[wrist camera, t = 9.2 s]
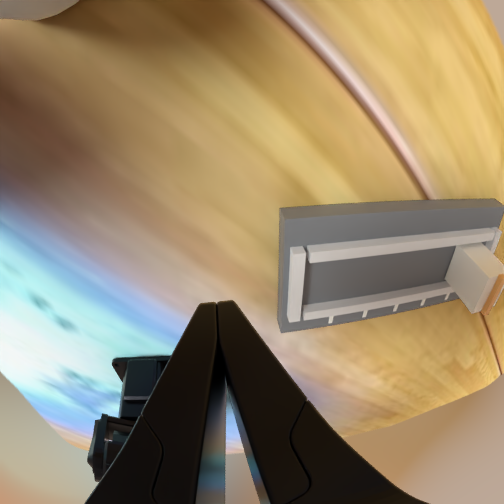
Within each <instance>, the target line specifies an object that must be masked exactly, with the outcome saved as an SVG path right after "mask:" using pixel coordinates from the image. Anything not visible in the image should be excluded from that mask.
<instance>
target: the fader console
mask: <svg viewBox="0 0 504 504" xmlns="http://www.w3.org/2000/svg"><path fill="white" fill-rule="evenodd" d="M503 213H504V205H502V204H501V203H500V202H498V201H497V200H496V199H446V200H412V201H387V202H366V203H348V204H331V205H316V206H302V207H288V208H280V221H279V277H278V314H277V320H278V324H279V328H280V332H281V333H285V332H292V331H299V330H306V329H313V328H319V327H325V326H331V325H337V324H343V323H349V322H354V321H360V320H365V319H370V318H375V317H381V316H386V315H390V314H395V313H400V312H405V311H409V310H414V309H418V308H422V307H427V306H431V305H435V304H439V303H443V302H447V301H451V300H455V299H459V296H458V295H457V294H456V293H455V291H454V290H453V289H452V288H451V286H450V285H449V284H448V283H447V281H446V280H445V276H446V273H447V271H448V268H449V265H450V262H451V260H452V257H453V254H454V251H455V248H456V245H463V244H471V243H478V242H481V243H482V244H483V245H484V246H485V247H487V248H488V249H489V250H490V251H491V252H492V253H493V254H494V252H495V250H496V247H497V244H498V242H499V239H500V236H501V233H502V231H501V230H499V229H498V228H499V225H500V222H501V219H502V216H503Z"/></svg>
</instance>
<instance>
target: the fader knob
mask: <svg viewBox="0 0 504 504" xmlns="http://www.w3.org/2000/svg"><path fill="white" fill-rule="evenodd" d="M445 280H446V281H447V283H448V284H449V285H450V286H451V288H452V289H453V290H454V291H455V293H456V294H457V295H458V296H459V298H460V299H461V300H462V302H463V303H464V304H465V306H466V307H467V308H468V310H469V311H470V312H471V314H473V313H476V312H479V311H481V313H482V314H483V316H485V315H488V314H489V312H490V310H491V308H492V307H494V306H495V304H496V302H497V300H498V298H499V296H500V294H501V292H502V290H503V288H504V265H503V264H502V262H501V261H500V260H499V259H498V258H497V257H496V256H495V255H494V254H493V253H492V252H491V251H490V250H489V249H488V248H487V247H485V246H484V245H483V244H482V243H481V242H478V243H471V244H463V245H456V248H455V251H454V254H453V257H452V260H451V262H450V265H449V268H448V271H447V273H446V276H445Z"/></svg>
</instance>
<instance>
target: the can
mask: <svg viewBox="0 0 504 504" xmlns="http://www.w3.org/2000/svg"><path fill="white" fill-rule="evenodd" d="M78 1H79V0H0V19H15V20H41V19H44V18H48V17H51V16H54V15H57V14H59V13H60V12H62V11H64V10H66V9H67V8H69V7H71V6H73V5H74V4H76V3H77V2H78Z"/></svg>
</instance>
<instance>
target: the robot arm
mask: <svg viewBox="0 0 504 504" xmlns="http://www.w3.org/2000/svg"><path fill="white" fill-rule="evenodd" d="M112 366H113V368H114V369H115V371H116V373H117V374H118V376H119V378H120V379H121V381H122V382H123V385H122V392H121V400H120V408H119V417H118V418H117V417H112V416H108V415H107V414H103V413H102V416H101V419H100V420H95V426H94V433H93V438H92V442H91V446H90V450H89V453H88V459H87V462H88V464H89V465H90V466H91V467H92V468H93V473H94V477H95V481H96V482H99V483H98V485H97V486H96V488H95V489H94V490H93V492H92V493H91V495H90V496H89V498H88V499H87V501H86V502H85V504H225V448H226V383H227V388H228V392H229V396H230V400H231V404H232V408H233V412H234V415H235V419H236V423H237V426H238V430H239V434H240V437H241V441H242V444H243V448H244V451H245V455H246V458H247V461H248V464H249V468H250V471H251V475H252V478H253V481H254V485H255V488H256V491H257V494H258V497H259V501H260V504H429V503H426V502H424V501H421V500H419V499H416V498H414V497H412V496H410V495H409V494H407V493H406V492H404V491H402V490H401V489H399V488H398V487H397V486H395V485H394V484H393V483H391V482H390V481H389V480H388V479H387V478H386V477H384V476H383V475H382V474H381V473H380V472H379V471H377V470H376V469H375V468H374V467H373V466H372V465H371V464H369V463H368V462H367V461H366V460H365V459H364V458H363V457H362V456H360V455H359V454H358V453H357V452H356V451H355V450H354V449H353V448H352V447H351V446H350V445H348V444H347V442H345V441H344V440H343V439H342V438H341V437H340V436H339V435H338V434H337V433H336V432H335V431H334V430H333V428H332V427H331V426H330V425H329V424H328V423H327V421H326V420H325V419H324V418H323V417H322V416H321V414H320V413H319V412H318V411H317V410H316V408H315V407H314V406H313V404H312V403H311V402H310V401H309V400H307V397H306V396H305V395H304V393H303V392H302V391H301V389H300V388H299V387H298V386H297V384H296V383H295V382H294V380H293V379H292V378H291V376H290V375H289V374H288V373H287V371H286V370H285V369H284V367H283V366H282V365H281V363H280V362H279V361H278V359H277V358H276V357H275V355H274V354H273V353H272V351H271V350H270V349H269V347H268V346H267V345H266V343H265V342H264V341H263V339H262V338H261V337H260V335H259V334H258V333H257V331H256V330H255V329H254V327H253V326H252V325H251V323H250V322H249V320H248V319H247V318H246V316H245V315H244V314H243V312H242V311H241V309H240V308H239V307H238V305H237V304H236V303H235V302H234V301H233V300H228V301H219V302H218V303H217V304H216V303H215V302H208V303H201V304H199V305H198V307H197V309H196V311H195V312H194V314H193V316H192V318H191V320H190V322H189V324H188V325H187V327H186V329H185V331H184V333H183V335H182V336H181V338H180V340H179V342H178V344H177V346H176V348H175V350H174V351H173V353H172V355H171V356H169V357H149V358H119V359H113V360H112ZM109 440H112V441H109Z"/></svg>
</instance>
